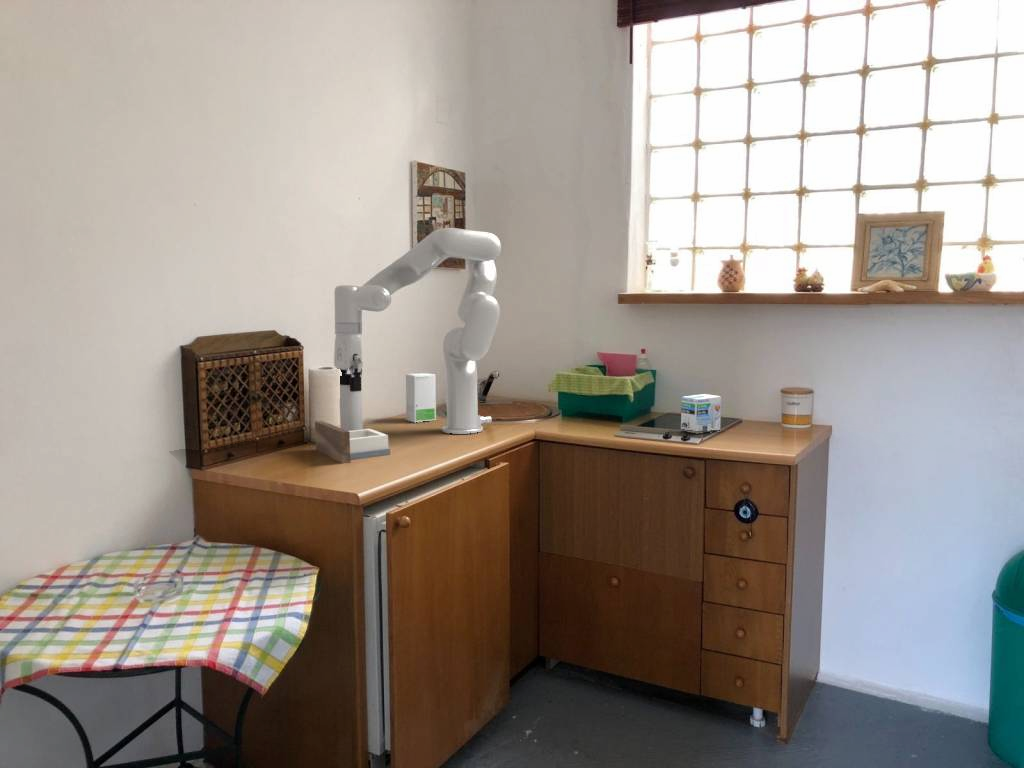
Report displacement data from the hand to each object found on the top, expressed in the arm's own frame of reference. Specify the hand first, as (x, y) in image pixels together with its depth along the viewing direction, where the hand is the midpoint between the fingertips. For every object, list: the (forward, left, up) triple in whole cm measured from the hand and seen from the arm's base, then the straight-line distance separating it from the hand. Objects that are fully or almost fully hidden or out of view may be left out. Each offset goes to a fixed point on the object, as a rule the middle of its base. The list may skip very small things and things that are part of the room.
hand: (349, 389), depth 227 cm
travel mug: (-1, 0, -15) cm, 15 cm away
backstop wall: (+11, +16, -15) cm, 25 cm away
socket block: (+4, +16, -15) cm, 22 cm away
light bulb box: (-94, +46, -15) cm, 105 cm away
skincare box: (-33, -20, -15) cm, 41 cm away
